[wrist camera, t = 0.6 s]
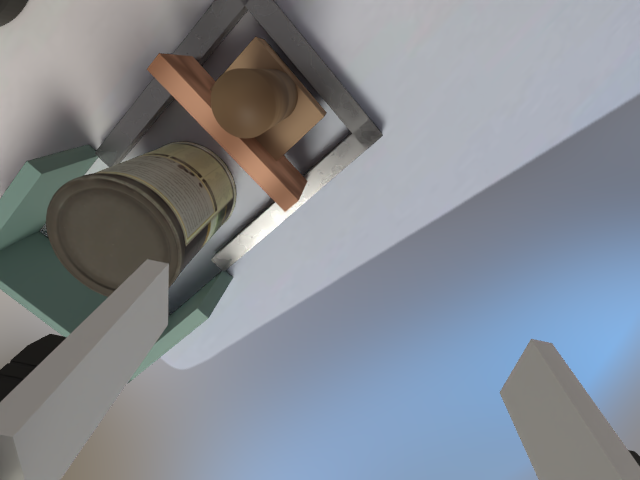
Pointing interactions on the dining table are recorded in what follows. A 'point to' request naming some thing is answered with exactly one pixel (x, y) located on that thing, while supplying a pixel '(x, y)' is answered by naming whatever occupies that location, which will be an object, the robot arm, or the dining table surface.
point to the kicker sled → (248, 112)
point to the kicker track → (261, 4)
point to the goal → (47, 271)
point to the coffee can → (140, 214)
